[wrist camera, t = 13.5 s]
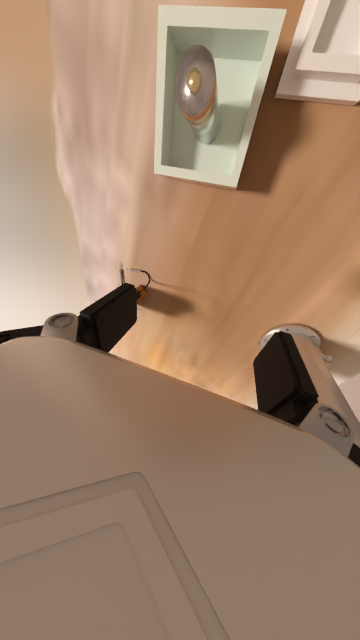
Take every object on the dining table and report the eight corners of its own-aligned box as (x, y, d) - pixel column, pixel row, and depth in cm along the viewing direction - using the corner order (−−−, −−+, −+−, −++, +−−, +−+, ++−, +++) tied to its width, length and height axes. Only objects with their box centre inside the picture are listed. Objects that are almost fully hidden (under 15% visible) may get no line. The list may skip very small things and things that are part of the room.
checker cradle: (447, -78, 12) (487, -130, 10) (353, 105, 18) (367, 94, 16) (328, -75, 13) (344, -121, 12) (274, 97, 19) (279, 86, 17)
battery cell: (225, 104, 20) (220, 40, 12) (216, 146, 22) (208, 116, 14) (197, 101, 20) (175, 37, 12) (191, 143, 22) (170, 111, 15)
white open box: (274, 52, 17) (286, 8, 14) (235, 189, 25) (236, 187, 21) (173, 45, 19) (158, 4, 15) (165, 177, 26) (154, 173, 22)
